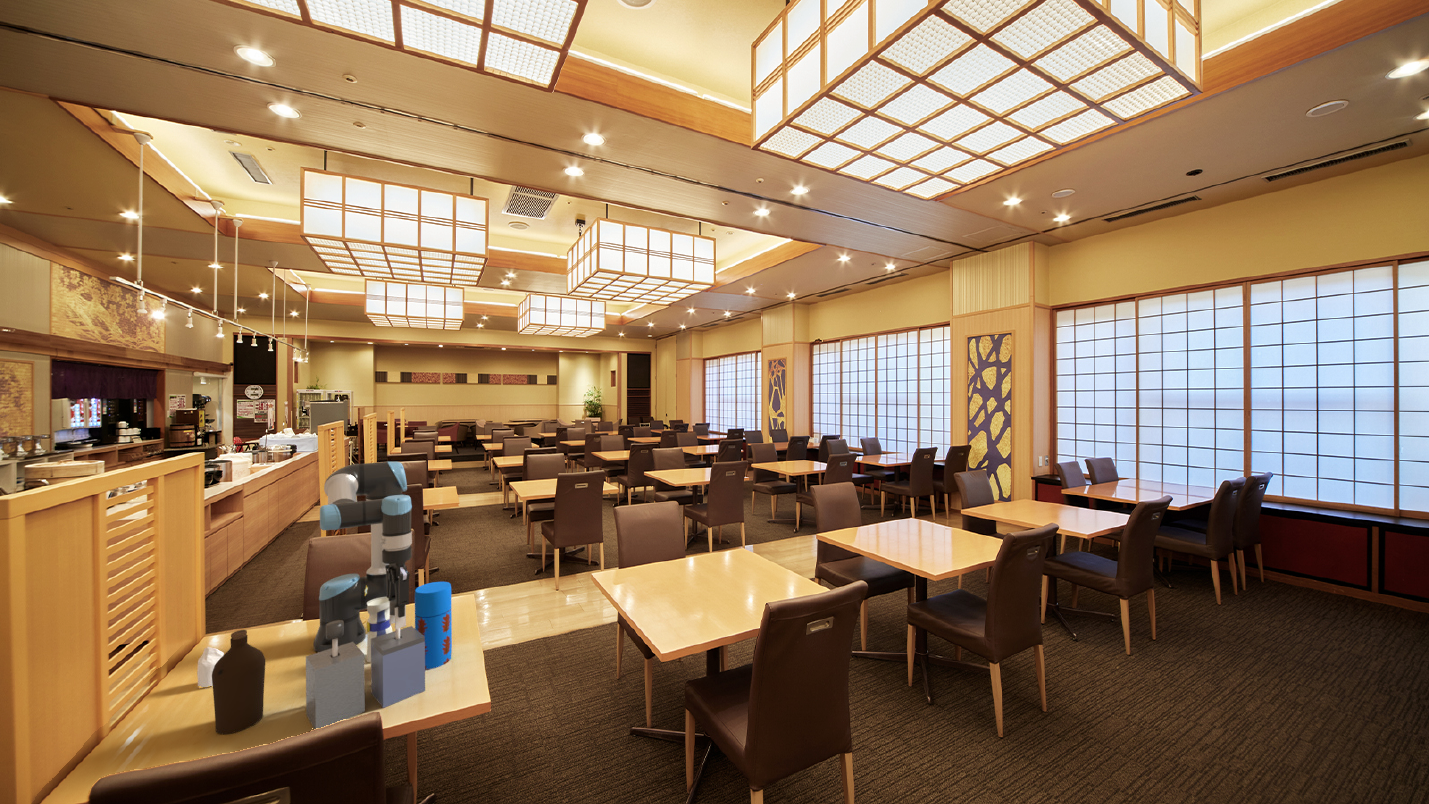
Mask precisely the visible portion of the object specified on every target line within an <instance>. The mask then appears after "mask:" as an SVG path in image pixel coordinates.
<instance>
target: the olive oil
mask: <svg viewBox="0 0 1429 804" xmlns="http://www.w3.org/2000/svg"><path fill="white" fill-rule="evenodd" d="M247 633H248V630H246V629H239V630H236V631H234V632H232V633H231V634H230V637H231V638H230V647H229V649H228V650H227V651H226V652H225V653H224V655H223V656H222V657H221V658H220V659H219V660H218V662H217V663H216V664H215V666H214V669H213V672H212V685H213V687H212V692H213V693H212V694H213V706H214V722H215V723H214V724H215V725H214V726H215V732H216V733H217V734H218V735H230V734H234V733H235V734H236V733H238V732H241V731H243V730H244V731H245V730H247V729H249V728H251V727H252V726H254V725H256V724H257V723H259V722H260V721H261V719H262V718H263V717H264V699H265V697H264V696H265V695H264V694H265V693H264V692H265V678H266V677H265V675H266V657H265V655H264V653H263V652H262V650H260V649H258V648H256V647H254V646H253V645H251V644H249V643H248V634H247Z"/></svg>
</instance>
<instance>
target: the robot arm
mask: <svg viewBox="0 0 1429 804" xmlns="http://www.w3.org/2000/svg"><path fill="white" fill-rule="evenodd" d="M406 477H407V476H406V471H405V468H404V465H403V464H402V462H400V461H380V462H379V461H377V462H367V463H354V464H349V465H345V466H343V467H341V468H339V469H337V470H335V471H334V472H332V473H331V474H330V475H329V476H328V477H327V478H326V480H325V481H324V484H323V490H324V493H325V495H326V497H327V504H324V505H321V506H320V508H319V528H320V530H322V531H330V530H331V531H332V530H333V531H336V530H342V529H347V528H348V529H350V528H355V527H362V526H364V527H365V526H369V525H370V541H371V542H370V543H371V544H370V547H371V548H370V549H371V551H370V552H371V554H370V555H371V556H370V557H371V560H370V563H371V564H370V565H371V566H370V567H369V568H368V569H367V570H366V573H365V574H366V575H365V576H362V577H360V576H361V575H359V574H358V573H348V574H347V573H346V574H342V575H340V576H336V577H334V578H332V579H329V580H327V581H326V582H324V583H323V584H322V585H321V586H320V588H319V597H318V600H319V626H318V630H317V632H316V635H315V638H314V640H313V651H314V652H315V653H316V652H317V653H318V652H322V651H325V650H328V649H331V648H332V639H326V624H327V623H329V622H332V621H336V620H343V621H344V635H343V636H341V637H339V638H338V646H341V645H344V644H347V643H350V642H354V643H355V645H356V646H357V645H359V643H362V642H363V641H364V640H365V639H366V631H367V630H366V627H365V625H364V623H363V622H362V619H361V616H360V614H361V613H360V612H361V611H362V610H367V606H368V605H367V602H368V601H370V600H373V599H376V598H381V597H387V598H389V609H390V601H391V600H393V599H396V605H395V606H393V607H394V608H395V615H390V624H391V625H392V624H394V629H397V628H400V629H402V628H403V627H406V626H407V605H409V604H410V576H411V573H410V572H409V571H408V567H407V565H406V562H407V561H410V560H411V559H412V555H413V551H412V550H413V549H412V546H411V545H412V544H413V540H412V539H413V531H412V508H413V505H412V498H411V497H410V495H408V494H407V495H406V494H403V492H407V490H408V484H407V478H406ZM358 496H365V500H359V501H358V498H357V497H358ZM366 585H367V587H368V589H367V594H366V595H365V589H366Z"/></svg>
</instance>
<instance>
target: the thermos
mask: <svg viewBox="0 0 1429 804" xmlns="http://www.w3.org/2000/svg"><path fill="white" fill-rule="evenodd" d="M452 621H453V620H452V584H451V583H450V582H448V581H433V582H429V583H425V584H422V585H420V586H418V587H416V588H415V591H414V628H415V629H416V630H417V631H418V632H420V633H421V634H422V635H423V636H425V670H432V669H436V668H439V667H442V666H444V665H446V664H447V663H449V662H450V661H451V659H452V649H453V642H452V641H453V640H452V638H453V636H452V633H453V631H452V630H453V629H452V624H453V623H452Z"/></svg>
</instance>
